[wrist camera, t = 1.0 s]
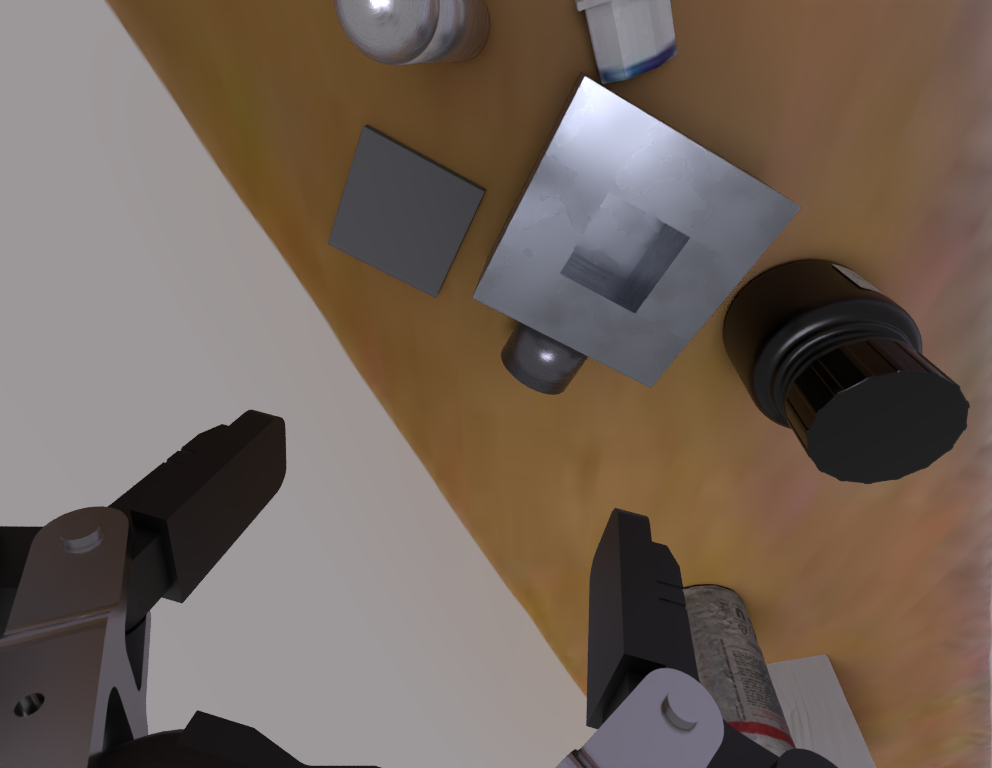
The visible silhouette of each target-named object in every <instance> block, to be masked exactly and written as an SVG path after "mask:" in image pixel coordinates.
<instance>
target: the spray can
mask: <svg viewBox="0 0 992 768" xmlns="http://www.w3.org/2000/svg"><path fill="white" fill-rule="evenodd" d="M682 591H683V592H684V596H685V601H686V608H685V609H687V613H688V619H689V624H690V630H691V636H692V642H693V647H694V653H695V659H696V665H697V670H698V676H699V680H700V684H701V685H702V686H703V687H704V688H705V689H706V690H707V691H708V692H709V694H710V695H711V696H712V698H713V699H714V701H715V702H716V704H717V706H718V708H719V710H720V713H721V716H722V718H723V719H724V720H725V721H726V722H727V723H728V724H730V725H731V726H732V727H733V728H734V729H736V730H737V731H739V732H740V733H742V734H743V735H745V736H746V737H748V738H750V739H751V740H753V741H754V742H756V743H758V744H759V745H761V746H762V747H764V748H766V749H767V750H769V751H771V752H772V753H774V754H775V755H777V756H779V757H780V756H781V755H782V754H783V753H784V752H786V751H788V750H790V749H795V748H796V747H795V744H794V742H793V739H792V737H791V734H790V731H789V727H788V725H787V722H786V719H785V717H784V714H783V711H782V708H781V705H780V703H779V700H778V697H777V695H776V692H775V689H774V687H773V684H772V680H771V678H770V675H769V672H768V669H767V666H766V664H765V661H764V658H763V655H762V652H761V649H760V647H759V645H758V643H757V638H756V635H755V631H754V629H753V627H752V623H751V621H750V618H749V615H748V612H747V610H746V608H745V605H744V604H743V602H742V600H741V599H740V598H739V596H738V595H737V594H736V593H735V592H734V591H731V590H728V589H725V588H722V587H719V586H711V585H709V586H695V587H690V588H688V589H683V590H682Z"/></svg>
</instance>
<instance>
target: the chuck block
mask: <svg viewBox="0 0 992 768" xmlns="http://www.w3.org/2000/svg"><path fill="white" fill-rule="evenodd" d="M800 209H801V206H799V205H798V204H796V203H795V202H793V201H792V200H790V199H789V198H787V197H785V196H784V195H782V194H781V193H779V192H778V191H776V190H775V189H773V188H771V187H770V186H768V185H767V184H765V183H764V182H762V181H761V180H759V179H757V178H756V177H754V176H752V175H751V174H749V173H747V172H746V171H744V170H742V169H741V168H739V167H737V166H736V165H734V164H733V163H731V162H729V161H728V160H726V159H724V158H723V157H721V156H719V155H718V154H716V153H714V152H713V151H711V150H709V149H708V148H706V147H704V146H703V145H701V144H699V143H698V142H696V141H694V140H693V139H691V138H689V137H688V136H686V135H684V134H683V133H681V132H680V131H678V130H676V129H675V128H673V127H671V126H670V125H668V124H666V123H665V122H663V121H661V120H660V119H658V118H656V117H655V116H653V115H651V114H650V113H648V112H646V111H645V110H643V109H641V108H640V107H638V106H636V105H635V104H633V103H631V102H630V101H628V100H626V99H625V98H623V97H622V96H620V95H618V94H617V93H615V92H613V91H612V90H610V89H608V88H607V87H605V86H603V85H602V84H600V83H598V82H597V81H595V80H593V79H592V78H590V77H588V76H587V75H585V74H583V73H582V72H581V73H580V75H579V77H578V79H577V81H576V83H575V85H574V87H573V89H572V91H571V93H570V95H569V97H568V99H567V101H566V103H565V105H564V107H563V109H562V111H561V113H560V115H559V117H558V119H557V121H556V123H555V125H554V127H553V129H552V131H551V133H550V135H549V137H548V139H547V141H546V143H545V145H544V147H543V149H542V151H541V153H540V155H539V157H538V159H537V161H536V163H535V165H534V167H533V169H532V171H531V173H530V175H529V177H528V179H527V181H526V183H525V185H524V187H523V189H522V191H521V193H520V195H519V197H518V199H517V201H516V203H515V204H514V206H513V208H512V210H511V212H510V214H509V216H508V218H507V220H506V222H505V224H504V226H503V228H502V230H501V232H500V234H499V236H498V238H497V240H496V242H495V244H494V246H493V248H492V250H491V252H490V254H489V256H488V258H487V260H486V263H485V266H484V268H483V271H482V273H481V276H480V279H479V281H478V284H477V286H476V289H475V292H474V294H473V297H472V298H473V299H475V300H477V301H479V302H481V303H483V304H485V305H487V306H489V307H491V308H493V309H495V310H497V311H499V312H501V313H503V314H505V315H507V316H509V317H511V318H513V319H515V320H517V321H519V322H518V324H517V326H516V327H515V329H514V331H513V332H512V334H511V336H510V337H509V339H508V341H507V343H506V344H505V346H504V348H503V349H502V352H501V359H502V362H503V364H504V365H505V367H506V368H507V370H508V371H509V372H510V373H511V374H512V375H513V376H514V377H515V378H516V379H517V380H518V381H520V382H521V383H523V384H524V385H526V386H527V387H529V388H531V389H533V390H536V391H538V392H541V393H545V394H552V395H554V394H560V393H562V392H563V391H564V390H565V389H566V387H567V386H568V384H569V383H570V382H571V380H572V379H573V377H574V376H575V375H576V373H577V372H578V370H579V369H580V368H581V366H582V365H583V363H584V362H585V361H586V359H587V358H588V357H590V358H592V359H594V360H596V361H598V362H600V363H602V364H604V365H606V366H608V367H610V368H612V369H614V370H616V371H618V372H620V373H622V374H624V375H626V376H628V377H630V378H632V379H634V380H636V381H638V382H640V383H642V384H644V385H646V386H648V387H650V388H651V387H652V386H653V385H654V384H655V382H656V381H657V380H658V379H659V378H660V376H661V375H662V374H663V373H664V372H665V370H666V369H667V368H668V367H669V366H670V364H671V363H672V362H673V361H674V360H675V358H676V357H677V356H678V355H679V354H680V352H681V351H682V350H683V349H684V348H685V346H686V345H687V344H688V343H689V342H690V340H691V339H692V338H693V337H694V336H695V334H696V333H697V332H698V331H699V330H700V328H701V327H702V326H703V325H704V324H705V322H706V321H707V320H708V319H709V318H710V316H711V315H712V314H713V313H714V312H715V310H716V309H717V308H718V307H719V306H720V304H721V303H722V302H723V301H724V300H725V299H726V297H727V296H728V295H729V294H730V293H731V291H732V290H733V289H734V288H735V287H736V285H737V284H738V283H739V282H740V281H741V279H742V278H743V277H744V276H745V275H746V273H747V272H748V271H749V270H750V269H751V267H752V266H753V265H754V264H755V263H756V261H757V260H758V259H759V258H760V257H761V255H762V254H763V253H764V252H765V251H766V249H767V248H768V247H769V246H770V245H771V243H772V242H773V241H774V240H775V239H776V237H777V236H778V235H779V234H780V233H781V231H782V230H783V229H784V228H785V227H786V225H787V224H788V223H789V222H790V221H791V219H792V218H793V217H794V216H795V215H796V213H797V212H798V211H799V210H800Z"/></svg>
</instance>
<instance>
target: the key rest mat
mask: <svg viewBox="0 0 992 768" xmlns="http://www.w3.org/2000/svg"><path fill="white" fill-rule="evenodd" d="M485 191H486V190H485V189H484V188H482V187H480V186H478V185H476V184H474V183H472V182H471V181H469V180H467V179H465V178H463V177H461V176H460V175H458V174H456V173H454V172H452V171H450V170H449V169H447V168H445V167H443V166H441V165H439V164H438V163H436V162H434V161H432V160H430V159H428V158H427V157H425V156H423V155H421V154H419V153H417V152H415V151H414V150H412V149H410V148H408V147H406V146H404V145H403V144H401V143H399V142H397V141H395V140H393V139H392V138H390V137H388V136H386V135H384V134H382V133H381V132H379V131H377V130H375V129H373V128H371V127H370V126H368V125H366V126H363V130H362V133H361V136H360V140H359V143H358V146H357V149H356V153H355V156H354V159H353V163H352V166H351V169H350V172H349V176H348V179H347V182H346V186H345V189H344V192H343V195H342V199H341V202H340V205H339V209H338V212H337V215H336V219H335V222H334V225H333V228H332V232H331V235H330V238H329V242H328V244H329V245H331V246H333V247H335V248H337V249H339V250H341V251H343V252H345V253H347V254H349V255H351V256H353V257H355V258H357V259H359V260H361V261H363V262H365V263H367V264H369V265H371V266H373V267H375V268H377V269H379V270H381V271H383V272H385V273H387V274H389V275H391V276H393V277H395V278H397V279H399V280H401V281H403V282H405V283H407V284H409V285H411V286H413V287H415V288H417V289H419V290H421V291H423V292H425V293H427V294H429V295H431V296H433V297H435V298H436V296H437V294H438V292H439V290H440V288H441V286H442V283H443V281H444V279H445V277H446V275H447V273H448V270H449V268H450V266H451V264H452V262H453V260H454V258H455V255H456V253H457V251H458V249H459V247H460V245H461V242H462V240H463V238H464V236H465V234H466V232H467V229H468V227H469V225H470V223H471V221H472V219H473V216H474V214H475V212H476V210H477V208H478V206H479V203H480V201H481V199H482V197H483V195H484V193H485Z"/></svg>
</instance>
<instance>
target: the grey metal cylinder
mask: <svg viewBox="0 0 992 768" xmlns="http://www.w3.org/2000/svg"><path fill="white" fill-rule="evenodd" d="M334 6H335V10H336V14H337V17H338V20H339V22H340V24H341V27H342V29H343V31H344V32H345V34H346V36H347V37H348V39H349V40H350V41H351V43H352V44H353V45H354V46H355V47H356V48H357V49H358V50H359V51H360V52H362V53H363V54H364V55H365V56H367V57H369V58H370V59H372V60H374V61H376V62H380V63H383V64H389V65H402V64H420V63H437V62H454V61H465V60H469V59H471V58H473V57H474V56H476V55H477V54H478V53H479V52H480V51H481V50H482V49H483V47H484V45H485V43H486V41H487V39H488V35H489V30H490V17H489V12H488V9H487V6H486V4H485V1H484V0H334Z"/></svg>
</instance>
